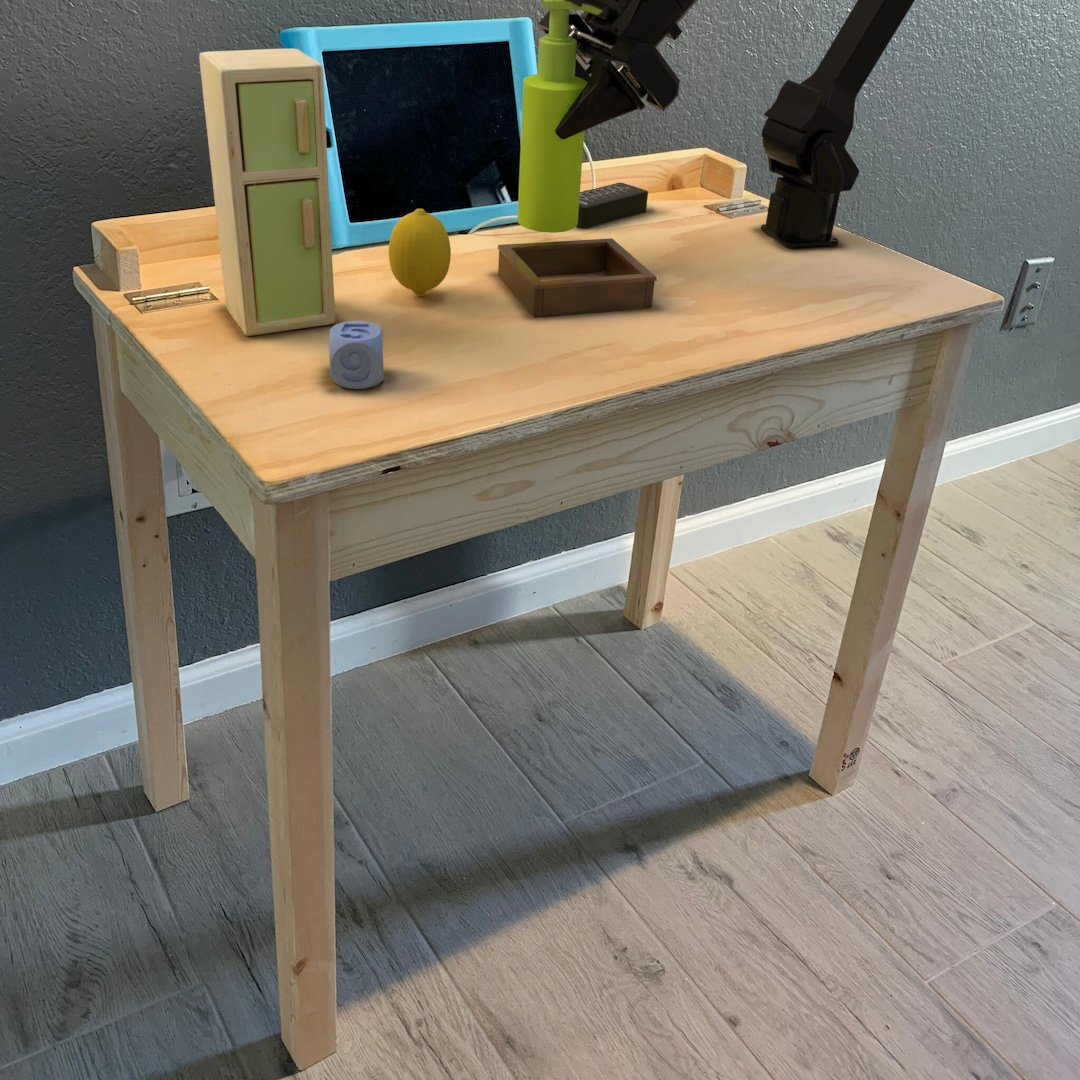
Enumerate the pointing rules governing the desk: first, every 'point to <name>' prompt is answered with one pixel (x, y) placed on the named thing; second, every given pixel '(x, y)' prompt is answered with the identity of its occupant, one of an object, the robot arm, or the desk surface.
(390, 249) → the lemon
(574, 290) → the brown wooden tray
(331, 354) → the decorative dice
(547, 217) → the soap dispenser
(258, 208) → the toy refrigerator
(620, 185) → the multiport hub
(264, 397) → the desk surface
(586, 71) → the robot arm
